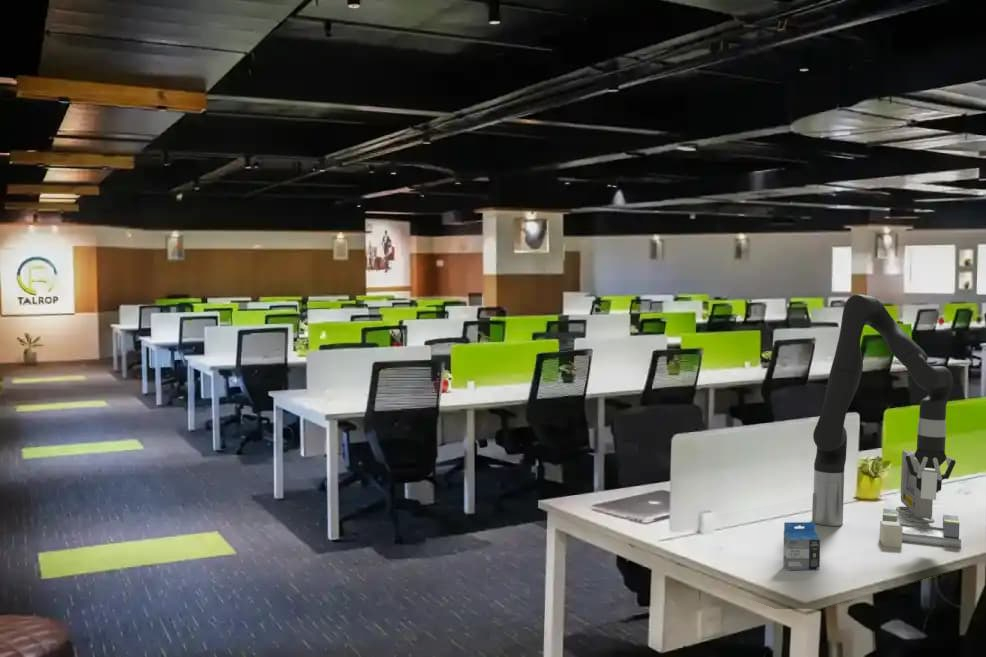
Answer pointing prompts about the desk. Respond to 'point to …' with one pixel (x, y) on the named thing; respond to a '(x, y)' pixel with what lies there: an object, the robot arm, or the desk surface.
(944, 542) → the grey base with blocks
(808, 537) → the label tape box
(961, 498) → the desk surface
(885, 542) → the block
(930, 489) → the block
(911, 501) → the network device
